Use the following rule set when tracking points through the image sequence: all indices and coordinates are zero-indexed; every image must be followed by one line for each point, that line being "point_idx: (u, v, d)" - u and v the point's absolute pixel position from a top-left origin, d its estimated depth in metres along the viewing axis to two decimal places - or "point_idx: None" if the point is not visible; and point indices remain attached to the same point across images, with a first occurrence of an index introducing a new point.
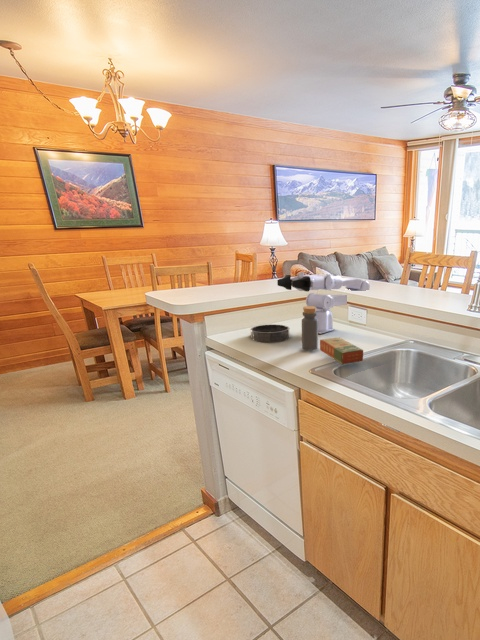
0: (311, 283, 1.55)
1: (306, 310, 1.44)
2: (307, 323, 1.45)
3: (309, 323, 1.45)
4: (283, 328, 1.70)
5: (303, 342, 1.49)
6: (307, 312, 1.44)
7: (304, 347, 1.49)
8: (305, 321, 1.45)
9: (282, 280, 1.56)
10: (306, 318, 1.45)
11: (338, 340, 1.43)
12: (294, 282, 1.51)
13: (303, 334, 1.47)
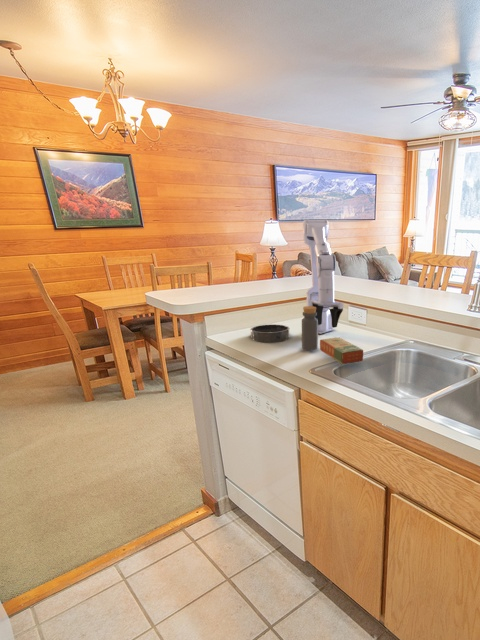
0: (339, 308, 1.50)
1: (306, 310, 1.44)
2: (307, 323, 1.45)
3: (309, 323, 1.45)
4: (283, 328, 1.70)
5: (303, 342, 1.49)
6: (307, 312, 1.44)
7: (304, 347, 1.49)
8: (305, 321, 1.45)
9: (318, 319, 1.57)
10: (306, 318, 1.45)
11: (338, 340, 1.43)
12: (334, 326, 1.54)
13: (303, 334, 1.47)
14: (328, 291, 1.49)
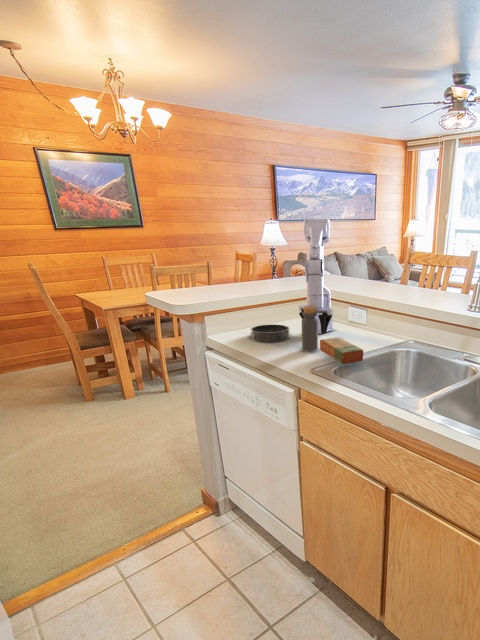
0: (329, 314, 1.46)
1: (306, 310, 1.44)
2: (307, 323, 1.45)
3: (309, 323, 1.45)
4: (283, 328, 1.70)
5: (303, 342, 1.49)
6: (307, 312, 1.44)
7: (304, 347, 1.49)
8: (305, 321, 1.45)
9: None
10: (306, 318, 1.45)
11: (338, 340, 1.43)
12: (323, 332, 1.49)
13: (303, 334, 1.47)
14: (317, 297, 1.45)
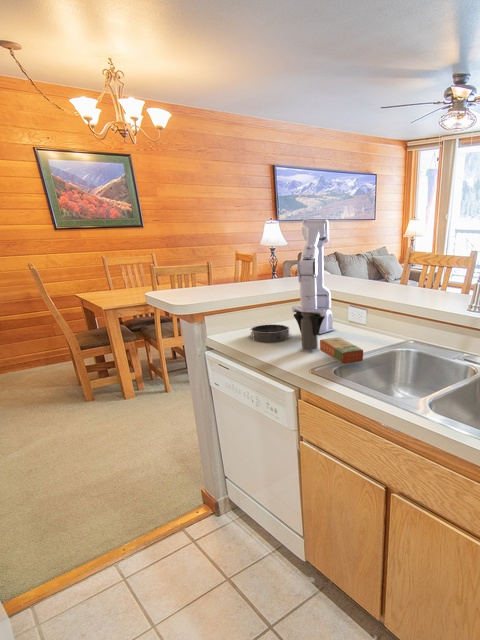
0: (322, 316, 1.43)
1: None
2: (306, 323, 1.45)
3: (308, 322, 1.45)
4: (283, 328, 1.70)
5: (303, 342, 1.49)
6: (306, 312, 1.44)
7: (304, 347, 1.49)
8: (304, 320, 1.45)
9: None
10: (305, 318, 1.45)
11: (338, 340, 1.43)
12: (315, 334, 1.47)
13: (303, 334, 1.48)
14: (310, 298, 1.42)
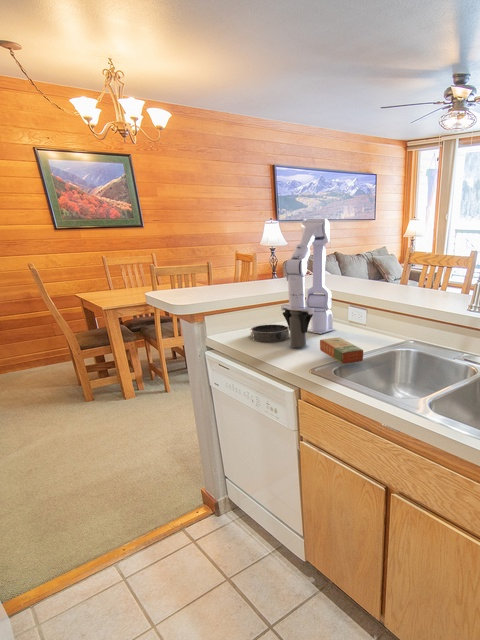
0: (310, 314, 1.46)
1: None
2: (295, 321, 1.48)
3: (297, 320, 1.48)
4: (283, 328, 1.70)
5: (292, 340, 1.52)
6: (294, 310, 1.47)
7: (293, 344, 1.52)
8: (293, 318, 1.48)
9: None
10: (293, 316, 1.48)
11: (338, 340, 1.43)
12: (304, 331, 1.50)
13: (291, 332, 1.51)
14: (298, 296, 1.45)
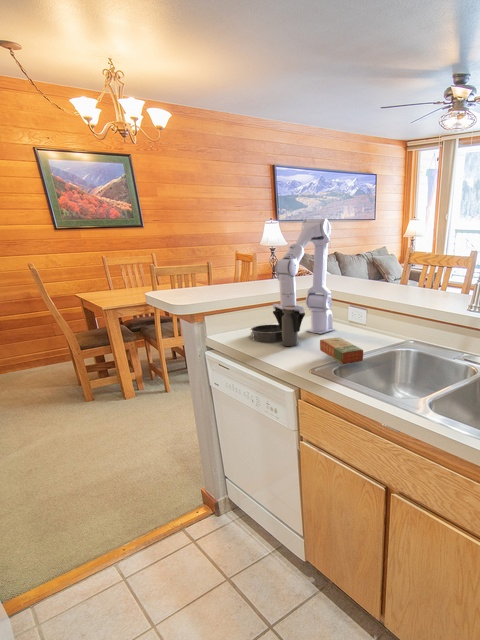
0: (301, 313, 1.49)
1: None
2: (287, 320, 1.50)
3: (289, 319, 1.50)
4: None
5: (283, 338, 1.54)
6: (286, 309, 1.50)
7: (284, 343, 1.55)
8: (285, 317, 1.50)
9: (281, 323, 1.56)
10: (286, 315, 1.51)
11: (338, 340, 1.43)
12: (296, 330, 1.52)
13: (283, 330, 1.53)
14: (289, 295, 1.48)
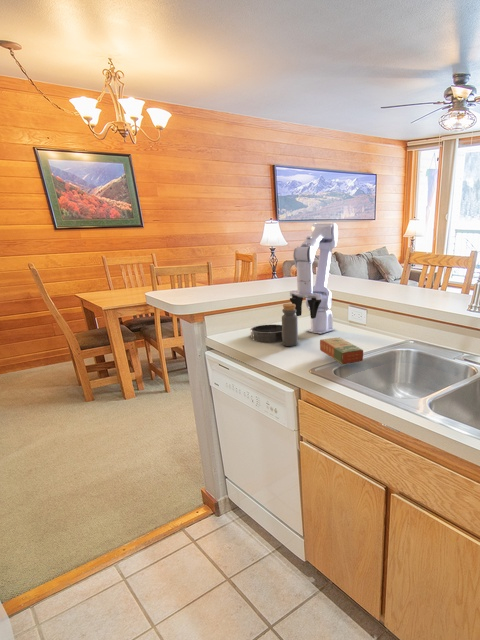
0: (317, 299, 1.52)
1: (285, 307, 1.49)
2: (287, 320, 1.50)
3: (289, 319, 1.50)
4: None
5: (283, 338, 1.54)
6: (286, 309, 1.50)
7: (284, 343, 1.55)
8: (285, 317, 1.50)
9: (297, 310, 1.59)
10: (286, 315, 1.51)
11: (338, 340, 1.43)
12: (313, 317, 1.56)
13: (283, 330, 1.53)
14: (306, 282, 1.51)
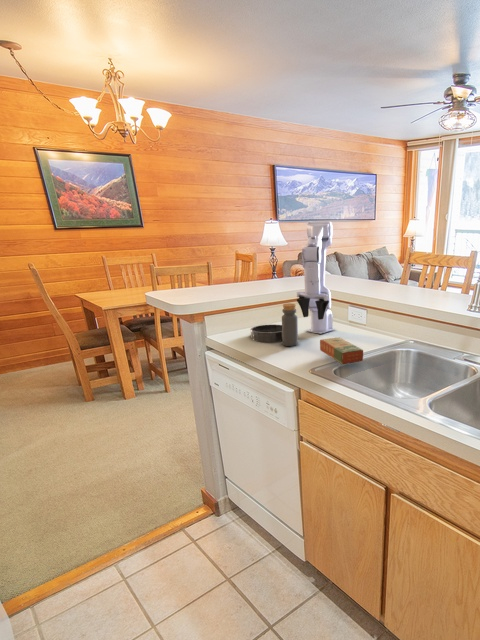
0: None
1: (285, 307, 1.49)
2: (287, 320, 1.50)
3: (289, 319, 1.50)
4: None
5: (283, 338, 1.54)
6: (286, 309, 1.50)
7: (284, 343, 1.55)
8: (285, 317, 1.50)
9: (304, 311, 1.57)
10: (286, 315, 1.51)
11: (338, 340, 1.43)
12: (320, 318, 1.54)
13: (283, 330, 1.53)
14: (314, 283, 1.49)
